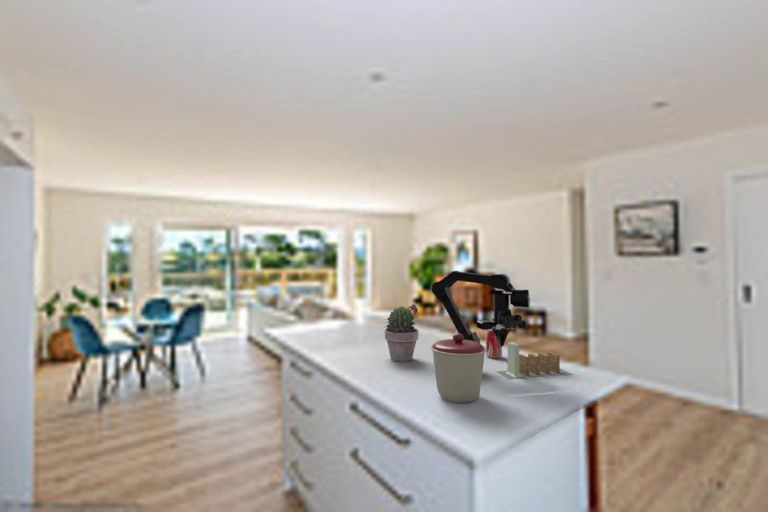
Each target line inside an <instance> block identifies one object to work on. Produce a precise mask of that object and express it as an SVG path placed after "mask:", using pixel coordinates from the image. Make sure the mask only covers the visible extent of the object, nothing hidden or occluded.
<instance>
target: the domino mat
mask: <svg viewBox="0 0 768 512" xmlns="http://www.w3.org/2000/svg"><path fill="white" fill-rule="evenodd" d="M494 372H495V373H496V374H498V375H500V376H502V377H504V378H506V379H507V380H518V379H532V378H533V379H534V378H545V377H555V376H557V377H558V376H568V375H569V376H570V375H573V373H572V372H569V371H567V370H564V369H562V368H560V373H554V372H552V371H550V374H545V373H543V372H541V371H540V375H535V374H533V373H531V372H529V375H528V376H525V375H523V374H521V373H519V376H513V375H511V374H510V373H508V370H498V371H497V370H496V371H494Z"/></svg>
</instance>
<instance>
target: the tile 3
mask: <svg viewBox="0 0 768 512" xmlns="http://www.w3.org/2000/svg"><path fill="white" fill-rule="evenodd" d="M527 357H529V372H531V373H533V374H535V375H540V367H539V356H538V354H537V355H536V354H534V353H528V355H527Z"/></svg>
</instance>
